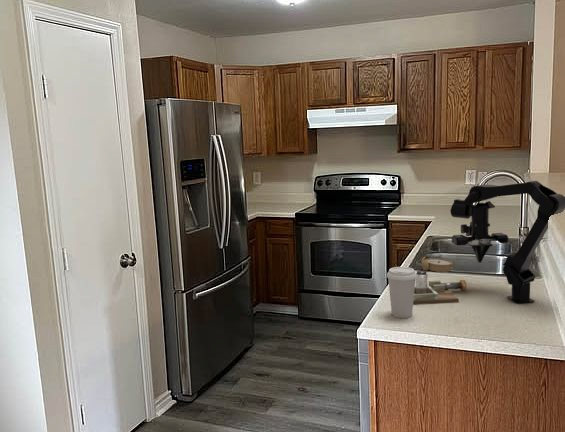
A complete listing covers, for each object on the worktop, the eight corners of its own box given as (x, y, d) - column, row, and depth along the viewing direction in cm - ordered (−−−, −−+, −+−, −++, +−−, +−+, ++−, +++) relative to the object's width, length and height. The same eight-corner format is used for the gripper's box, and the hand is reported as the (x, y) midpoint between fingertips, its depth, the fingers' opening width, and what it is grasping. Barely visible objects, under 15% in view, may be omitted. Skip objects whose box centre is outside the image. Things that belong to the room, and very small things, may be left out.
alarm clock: (454, 266, 211) (417, 259, 215) (451, 277, 212) (415, 270, 216) (452, 259, 222) (417, 253, 225) (450, 270, 223) (415, 263, 226)
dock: (458, 302, 175) (458, 291, 175) (412, 304, 175) (412, 294, 175) (444, 289, 189) (444, 280, 189) (401, 292, 189) (401, 282, 189)
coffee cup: (381, 315, 166) (380, 270, 164) (397, 307, 173) (397, 264, 170) (406, 322, 159) (406, 275, 157) (422, 313, 166) (422, 269, 164)
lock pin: (466, 292, 184) (466, 281, 184) (441, 293, 184) (441, 282, 184) (462, 288, 188) (462, 278, 188) (437, 290, 188) (437, 279, 188)
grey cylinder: (417, 297, 178) (417, 273, 177) (414, 294, 182) (414, 270, 181) (428, 297, 178) (428, 273, 177) (425, 294, 182) (425, 270, 181)
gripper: (495, 215, 191) (495, 255, 193) (446, 217, 190) (446, 258, 193) (509, 220, 180) (508, 263, 182) (457, 222, 179) (456, 265, 182)
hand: (479, 262), depth 185 cm, fingers closed
